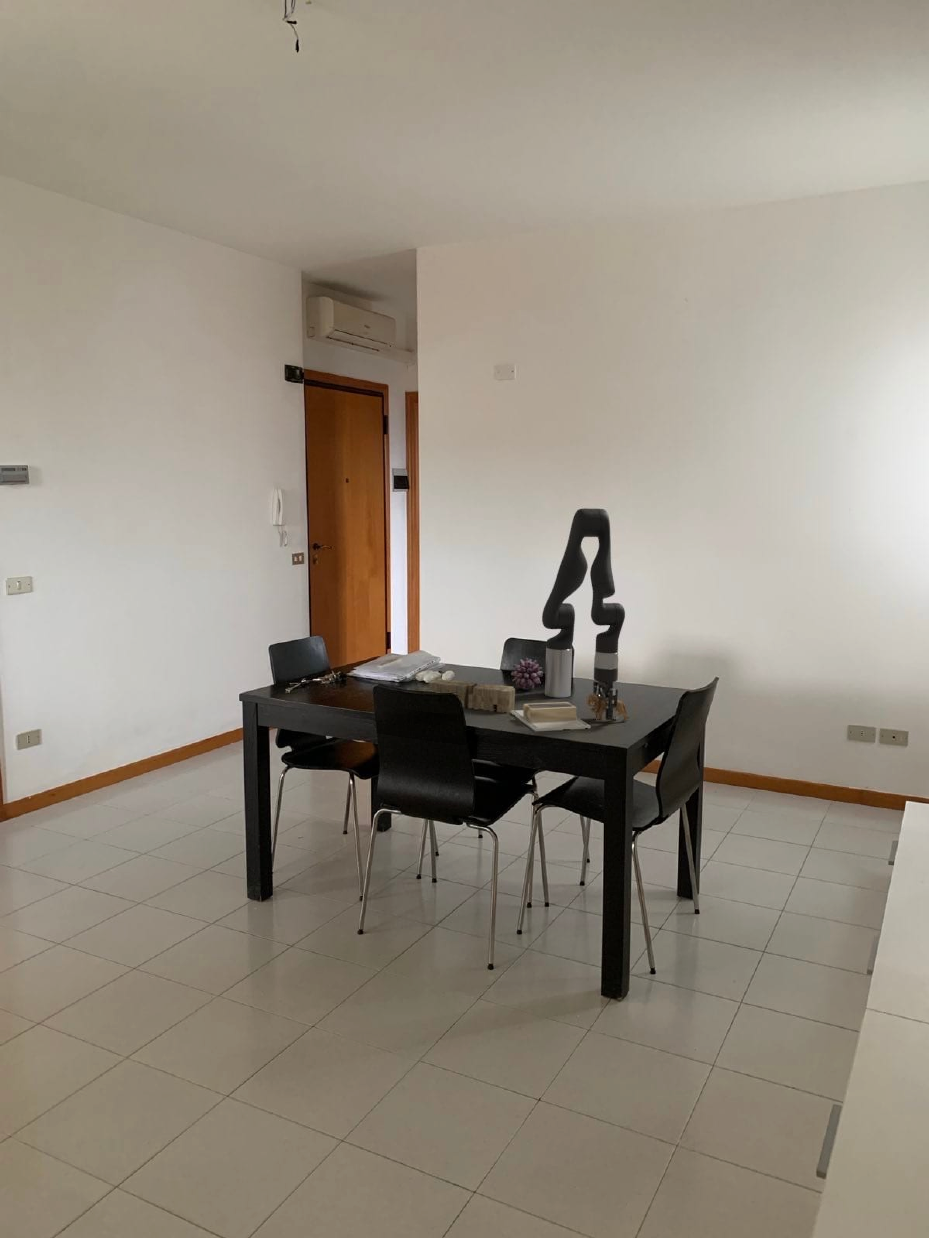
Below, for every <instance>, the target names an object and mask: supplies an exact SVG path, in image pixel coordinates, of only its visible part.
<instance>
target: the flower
mask: <svg viewBox="0 0 929 1238" xmlns="http://www.w3.org/2000/svg"><path fill="white" fill-rule="evenodd" d="M537 662H538V661H537V660H536V659H535V660H534V661H532V659H531V658H528V657H526V659H525V661H524V660H523V659H519V665H518V664H513V665H512V666H513V668H514V669H515V671H511V676H512V677H513V676H514V678H513V679H512V682H515V686H516V685H517V688H519V687H522V689H523V690H525V691H528V690H529V687H530V688H531V689H533V690H534V688H535V684H539V685H540V684H541V681H540V677H541V678H542V677H543V676H544V675H543V673H544V672H543V671H542V670H543V667H542V666H541V667H540V666H539V663H537Z"/></svg>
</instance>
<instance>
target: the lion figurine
mask: <svg viewBox="0 0 929 1238" xmlns="http://www.w3.org/2000/svg"><path fill="white" fill-rule="evenodd" d="M586 706H587V708H588V709H589V710H590V711H591V712H593V713H594V714H595V717H594V719H596V720H595V721H597V723H602V721H603V714H604V713H606V705H605V702H604V701H603V698H602V697H599V696H598V695H596V694H593V693H589V694H588V695H587V696H586ZM626 707H627V706H626V705H625V703H624V702H623V701H622V700H619V699H617V707H615V708H613V711H614V712H615V716H613V719H614V720H615V719H616V720H617V719H618V718H619V717H620V716H622V717H623V719H622V722H624V723H625V722H626V723H627V722H628V721H627V720H628V719H631V718H630V717H629V716H628V714H627V713H628V712H627V709H626ZM594 719H593V720H594ZM597 719H598V720H597ZM613 719H612V720H613ZM616 720H615V721H616Z"/></svg>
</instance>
